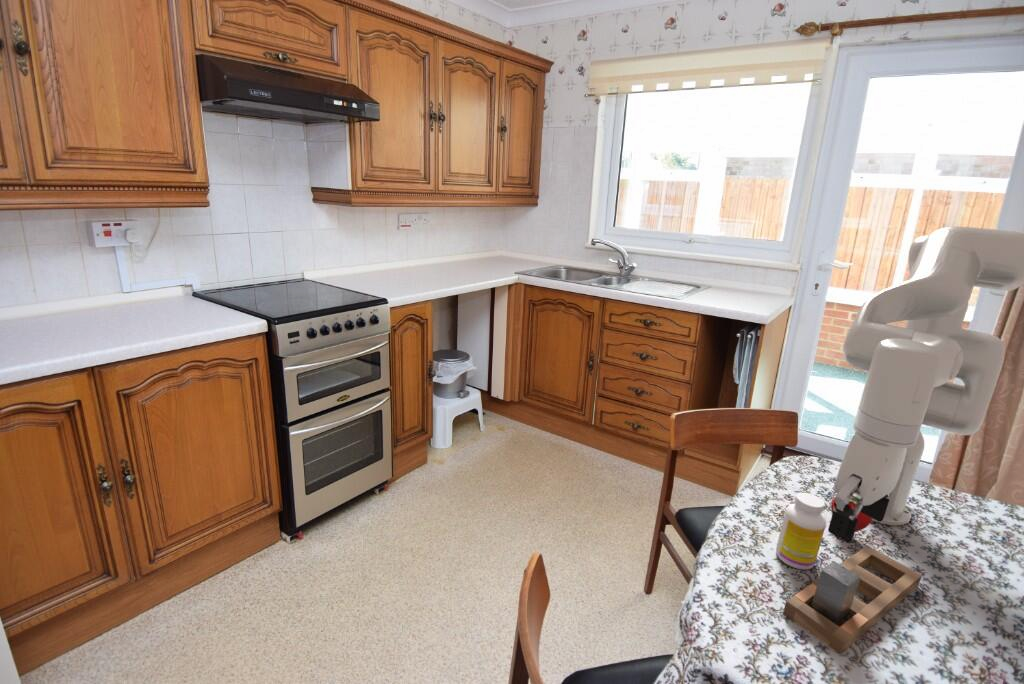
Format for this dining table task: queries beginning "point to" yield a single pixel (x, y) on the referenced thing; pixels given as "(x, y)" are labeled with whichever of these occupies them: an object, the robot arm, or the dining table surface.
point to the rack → (860, 612)
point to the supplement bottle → (802, 531)
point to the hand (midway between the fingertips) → (855, 526)
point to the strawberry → (862, 518)
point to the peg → (835, 593)
